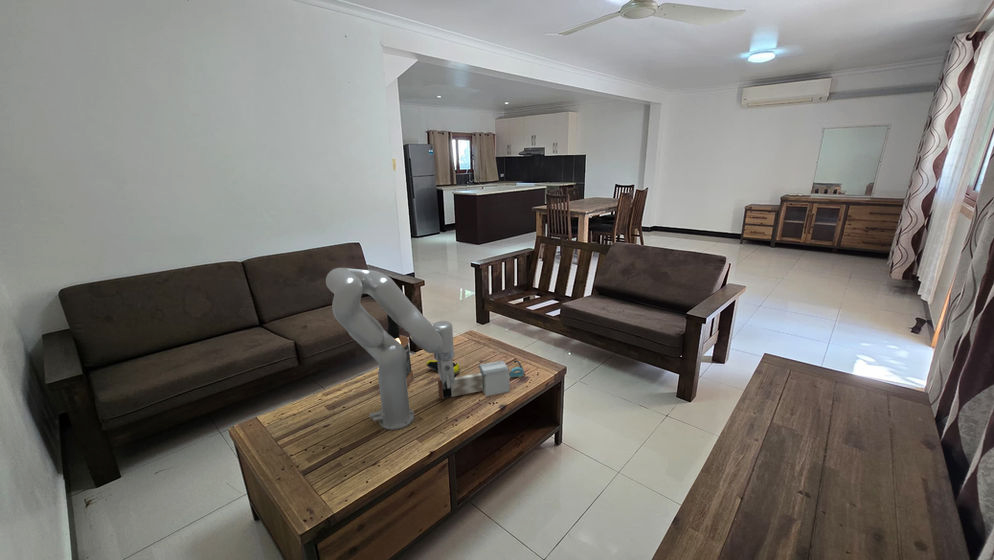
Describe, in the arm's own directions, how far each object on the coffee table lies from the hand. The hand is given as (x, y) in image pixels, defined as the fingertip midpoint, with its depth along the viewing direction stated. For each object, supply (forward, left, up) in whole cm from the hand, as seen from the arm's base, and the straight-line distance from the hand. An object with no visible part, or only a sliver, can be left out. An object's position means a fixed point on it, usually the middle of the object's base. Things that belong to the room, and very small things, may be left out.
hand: (446, 394), depth 158 cm
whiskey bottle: (-17, +18, -2) cm, 25 cm away
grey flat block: (+6, 0, -1) cm, 6 cm away
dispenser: (+20, 0, -2) cm, 20 cm away
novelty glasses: (+29, +12, -2) cm, 32 cm away
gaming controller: (+3, +21, -2) cm, 21 cm away
